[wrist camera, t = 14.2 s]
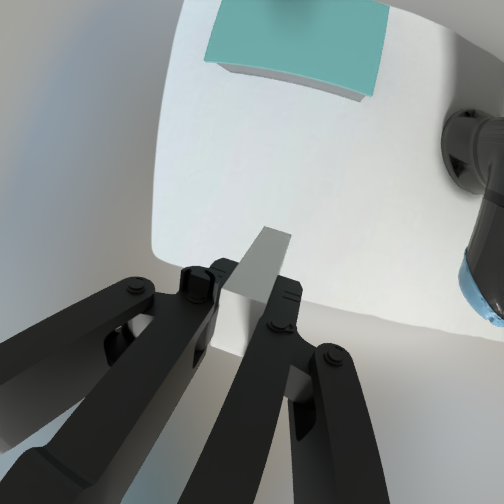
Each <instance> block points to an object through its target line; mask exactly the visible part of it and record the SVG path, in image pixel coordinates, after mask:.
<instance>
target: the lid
mask: <svg viewBox="0 0 504 504" xmlns="http://www.w3.org/2000/svg"><path fill="white" fill-rule="evenodd" d="M389 7H390V6H387V5H385V4H382V3H379V2H376V1H373V0H222V2H221V5H220V8H219V11H218V14H217V17H216V20H215V23H214V26H213V29H212V33H211V36H210V39H209V43H208V46H207V50H206V53H205V57H204V61H205V62H211V63H222V64H232V65H240V66H248V67H255V68H261V69H267V70H272V71H278V72H283V73H288V74H292V75H297V76H301V77H306V78H310V79H314V80H317V81H321V82H325V83H328V84H332V85H335V86H339V87H342V88H345V89H348V90H351V91H354V92H357V93H360V94H363V95H366V96H369V97H372V95H373V91H374V87H375V82H376V78H377V73H378V69H379V64H380V59H381V54H382V49H383V44H384V38H385V33H386V27H387V20H388V14H389Z"/></svg>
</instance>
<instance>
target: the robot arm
mask: <svg viewBox="0 0 504 504" xmlns="http://www.w3.org/2000/svg"><path fill="white" fill-rule="evenodd" d="M442 155H443V159H444V163H445V166H446V168H447V170H448V172H449V174H450V176H451V177H452V179H453V180H454V181H455V182H456V183H457V184H458V185H459V186H460V187H462V188H463V189H465V190H467V191H469V192H472V193H474V194H480V195H484V197H483V199H482V203H481V207H480V210H479V214H478V217H477V220H476V224H475V227H474V230H473V233H472V236H471V239H470V242H469V244H468V247H467V248H466V249H465V252H464V259H463V262H462V265H461V267H460V270H459V275H458V278H459V286H460V289H461V291H462V293H463V295H464V297H465V298H466V300H467V301H468V303H469V304H470V305H471V306H472V308H473V309H474V310H475V311H476V312H477V313H478V314H479V315H480V316H482V317H483V318H484V319H486V320H487V319H489V321H490V322H491V324H493V325H495V326H498V327H504V117H497V118H494V117H493V116H491V115H489V114H487V113H485V112H483V111H481V110H477V109H466V110H461V111H458V112H456V113H455V114H453V115H452V116H451V117H450V118H449V120H448V121H447V123H446V125H445V127H444V130H443V134H442ZM290 238H291V234H287V233H284V232H281V231H278V230H275V229H272V228H268V227H265V226H264V228H263V229H262V231H261V232H260V234H259V235H258V237H257V238H256V239H255V241H254V242H253V244H252V245H251V247H250V248H249V250H248V251H247V252H246V254H245V255H244V257H243V258H242V260H241V261H240V263H238V262H235V261H232V260H229V259H226V258H221V259H218V260H216V261H214V262H213V264H212V265H211V266H210V268H206V267H201V266H190V267H186V268H184V269H182V270H181V278H180V287H179V291H178V292H177V293H176V294H165V293H159V292H155V287H154V284H153V283H152V282H151V281H150V280H148V279H146V278H143V277H129V278H126V279H123V280H121V281H119V282H117V283H115V284H113V285H111V286H109V287H107V288H105V289H103V290H101V291H99V292H97V293H95V294H93V295H91V296H89V297H87V298H85V299H83V300H81V301H79V302H77V303H75V304H73V305H71V306H69V307H67V308H66V309H63V310H62V311H60V312H58V313H56V314H54V315H52V316H50V317H48V318H46V319H44V320H42V321H41V322H39V323H37V324H35V325H33V326H31V327H29V328H28V329H26V330H24V331H22V332H20V333H18V334H17V335H15V336H13V337H11V338H9V339H7V340H6V341H4V342H2V343H0V454H3V453H5V452H6V451H8V450H10V449H12V448H13V447H15V446H16V445H18V444H19V443H21V442H22V441H24V440H25V439H26V438H28V437H29V436H31V435H32V434H34V433H35V432H37V431H38V430H39V429H41V428H42V427H44V426H45V425H46V424H48V423H49V422H51V421H52V420H54V419H55V418H56V417H58V416H59V415H61V414H62V413H64V412H65V411H66V410H68V409H69V408H71V407H72V406H73V405H75V404H76V403H78V402H79V401H80V400H82V399H83V398H84V397H85V399H84V400H83V401H82V402H81V403H80V405H79V406H78V407H77V408H76V410H75V411H74V412H73V413H72V414H71V416H70V417H69V418H68V419H67V421H66V422H65V423H64V424H63V426H62V427H61V428H60V429H59V430H58V432H57V433H56V434H55V435H54V437H53V438H52V439H51V441H50V442H49V443H48V444H47V445H45V446H43V447H32V448H30V449H28V450H26V451H25V452H24V453H23V454H22V455H21V456H20V457H19V458H18V459H17V461H16V462H15V463H14V464H13V466H12V467H11V468H10V470H9V471H8V472H7V474H6V475H5V476H4V478H3V479H2V480H1V482H0V504H120V503H121V500H122V498H123V497H124V495H125V493H126V492H127V490H128V488H129V486H130V485H131V483H132V481H133V480H134V478H135V476H136V475H137V473H138V471H139V469H140V468H141V466H142V464H143V463H144V461H145V459H146V457H147V456H148V454H149V452H150V450H151V449H152V447H153V445H154V444H155V442H156V440H157V439H158V437H159V435H160V433H161V432H162V430H163V428H164V426H165V425H166V423H167V421H168V420H169V418H170V416H171V414H172V412H173V411H174V409H175V407H176V406H177V404H178V402H179V400H180V399H181V397H182V395H183V393H184V391H185V390H186V388H187V386H188V385H189V383H190V381H191V379H192V378H193V376H194V374H195V372H196V371H197V369H198V367H199V365H200V363H201V362H202V360H203V358H204V356H205V354H206V350H207V345H208V343H209V341H210V340H211V338H212V340H211V346H213V347H216V348H218V349H221V350H224V351H226V352H229V353H232V354H235V355H237V356H240V357H243V359H242V362H241V364H240V366H239V369H238V371H237V374H236V376H235V378H234V381H233V383H232V385H231V388H230V390H229V392H228V395H227V397H226V399H225V402H224V404H223V406H222V408H221V411H220V413H219V415H218V417H217V420H216V422H215V424H214V426H213V429H212V431H211V433H210V435H209V437H208V440H207V442H206V444H205V446H204V448H203V451H202V453H201V455H200V457H199V459H198V461H197V464H196V466H195V468H194V470H193V472H192V474H191V476H190V478H189V480H188V482H187V485H186V487H185V489H184V491H183V493H182V495H181V497H180V499H179V501H178V503H177V504H253V503H254V500H255V497H256V493H257V490H258V487H259V484H260V481H261V477H262V474H263V471H264V468H265V464H266V461H267V457H268V454H269V450H270V447H271V443H272V439H273V436H274V432H275V428H276V424H277V420H278V417H279V413H280V408H281V405H282V400H283V396H285V397H287V398H288V410H289V411H288V412H289V425H290V439H291V456H292V473H293V492H294V504H390V501H389V496H388V492H387V486H386V482H385V477H384V473H383V468H382V464H381V459H380V455H379V451H378V447H377V443H376V439H375V435H374V431H373V428H372V424H371V420H370V416H369V413H368V409H367V406H366V402H365V399H364V395H363V392H362V388H361V385H360V382H359V379H358V376H357V372H356V369H355V366H354V363H353V360H352V357H351V356H350V354H349V353H348V352H347V351H346V350H345V349H344V348H342V347H341V346H339V345H336V344H332V343H323V344H321V345H319V346H318V347H317V348H316V347H315V346H313V345H311V344H309V343H308V342H306V341H305V340H304V339H303V338H302V337H301V336H300V335H299V333H298V332H297V326H296V322H297V318H298V312H299V307H300V302H301V296H302V291H303V289H302V286H301V284H300V282H298V281H295V280H292V279H289V278H286V277H283V276H280V275H279V273H280V270H281V267H282V264H283V261H284V258H285V255H286V251H287V248H288V245H289V242H290ZM120 326H121V327H120ZM118 327H120V328H118ZM116 328H118V329H116Z"/></svg>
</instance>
